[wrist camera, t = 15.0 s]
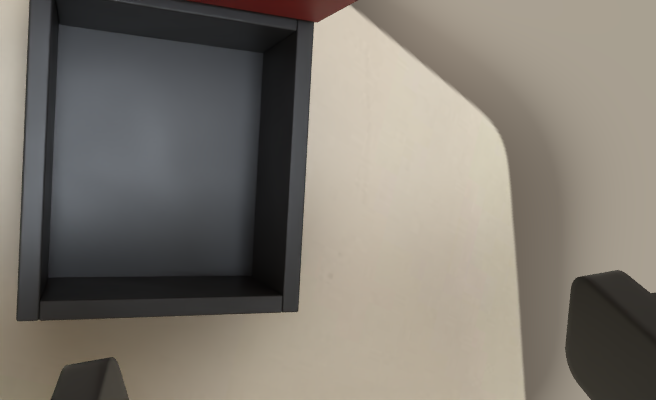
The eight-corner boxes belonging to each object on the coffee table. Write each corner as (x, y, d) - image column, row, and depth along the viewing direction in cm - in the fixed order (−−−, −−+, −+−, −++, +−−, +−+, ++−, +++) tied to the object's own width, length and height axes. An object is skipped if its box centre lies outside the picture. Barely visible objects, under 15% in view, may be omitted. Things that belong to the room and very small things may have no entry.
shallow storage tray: (260, 287, 33) (298, 312, 27) (30, 291, 29) (16, 321, 23) (273, 43, 33) (314, 16, 27) (41, 9, 28) (30, -34, 22)
